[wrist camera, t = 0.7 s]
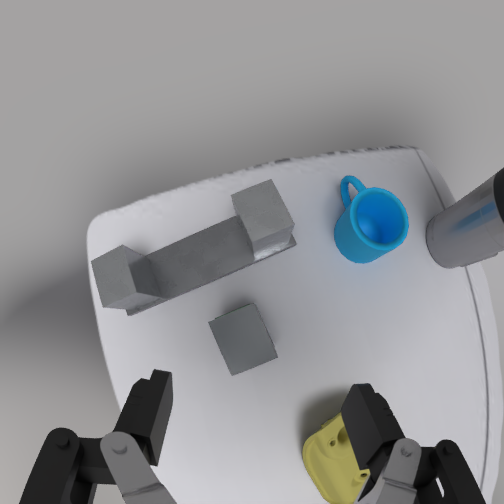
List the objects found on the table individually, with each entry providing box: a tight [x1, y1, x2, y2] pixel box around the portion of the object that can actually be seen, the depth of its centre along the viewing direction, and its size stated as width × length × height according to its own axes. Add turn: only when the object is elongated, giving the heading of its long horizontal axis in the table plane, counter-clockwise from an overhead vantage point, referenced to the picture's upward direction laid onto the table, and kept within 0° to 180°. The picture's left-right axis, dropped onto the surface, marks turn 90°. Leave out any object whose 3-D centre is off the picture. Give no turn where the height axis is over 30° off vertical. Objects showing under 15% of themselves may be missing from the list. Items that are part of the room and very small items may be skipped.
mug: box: [334, 176, 409, 264], centre depth 35 cm, size 12×8×8 cm
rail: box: [91, 179, 296, 316], centre depth 34 cm, size 26×7×9 cm, turn 113°
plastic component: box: [302, 412, 370, 504], centre depth 30 cm, size 20×7×10 cm
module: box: [208, 303, 278, 376], centre depth 32 cm, size 5×6×10 cm
